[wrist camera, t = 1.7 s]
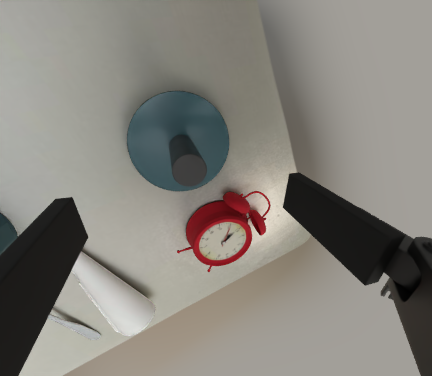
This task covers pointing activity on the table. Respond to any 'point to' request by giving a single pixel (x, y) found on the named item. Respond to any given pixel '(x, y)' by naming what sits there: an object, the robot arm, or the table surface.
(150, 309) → the long cone
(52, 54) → the table surface
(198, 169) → the enamel lid
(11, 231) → the enamel pot
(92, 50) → the table surface
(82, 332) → the spoon
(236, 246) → the alarm clock
